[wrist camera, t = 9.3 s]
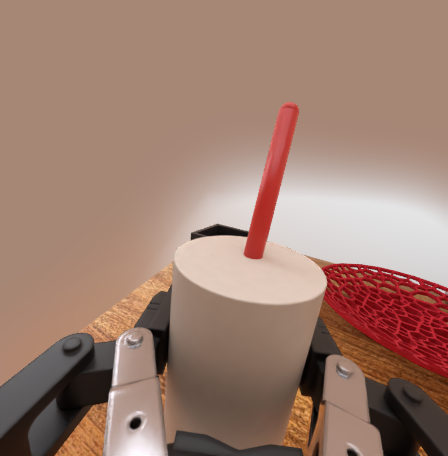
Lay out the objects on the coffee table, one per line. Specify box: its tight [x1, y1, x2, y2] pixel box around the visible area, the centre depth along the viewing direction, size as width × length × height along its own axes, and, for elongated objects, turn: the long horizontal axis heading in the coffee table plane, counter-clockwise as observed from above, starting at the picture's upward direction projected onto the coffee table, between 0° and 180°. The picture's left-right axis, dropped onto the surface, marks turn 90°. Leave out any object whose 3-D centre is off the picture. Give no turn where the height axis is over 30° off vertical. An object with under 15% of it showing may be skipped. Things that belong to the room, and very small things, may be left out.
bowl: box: [322, 263, 448, 378], centre depth 34 cm, size 29×30×5 cm
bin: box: [191, 224, 249, 240], centre depth 51 cm, size 12×12×8 cm
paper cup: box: [164, 102, 327, 450], centre depth 9 cm, size 6×6×16 cm
